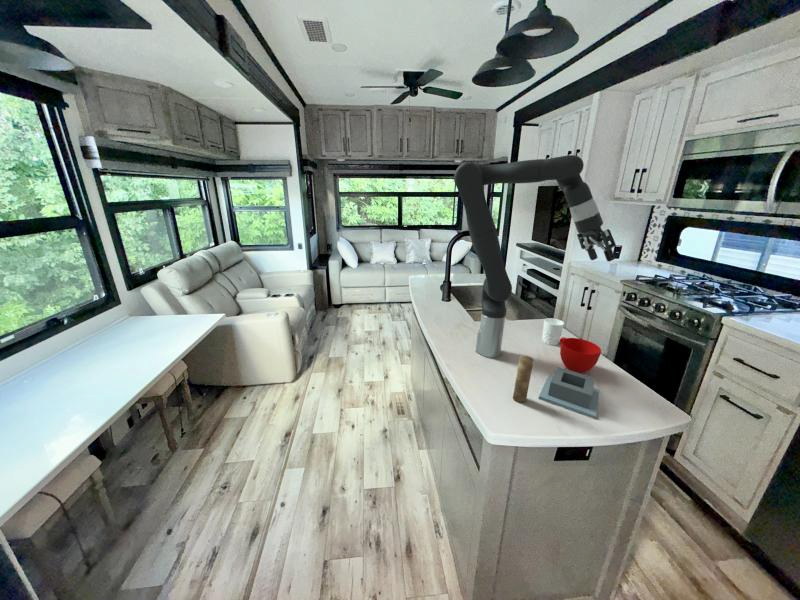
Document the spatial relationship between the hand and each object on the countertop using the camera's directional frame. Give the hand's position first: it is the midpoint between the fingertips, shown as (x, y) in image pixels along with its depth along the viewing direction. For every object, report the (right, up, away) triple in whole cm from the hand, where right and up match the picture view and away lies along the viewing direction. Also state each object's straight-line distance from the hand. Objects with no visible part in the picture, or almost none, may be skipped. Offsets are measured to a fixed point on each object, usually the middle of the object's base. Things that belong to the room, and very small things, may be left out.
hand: (602, 259), depth 104 cm
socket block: (-12, -45, -2) cm, 47 cm away
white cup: (-1, -33, +34) cm, 48 cm away
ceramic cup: (-2, -40, +15) cm, 42 cm away
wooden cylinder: (-30, -46, -4) cm, 55 cm away
